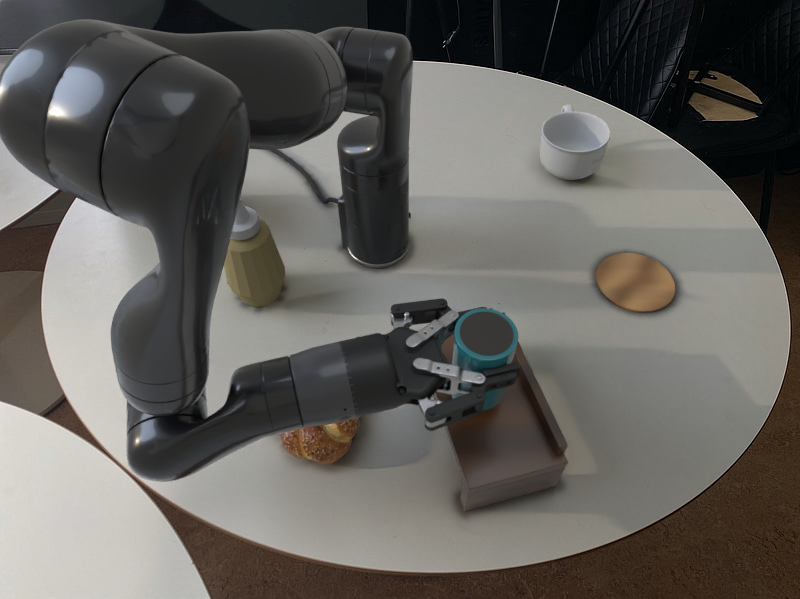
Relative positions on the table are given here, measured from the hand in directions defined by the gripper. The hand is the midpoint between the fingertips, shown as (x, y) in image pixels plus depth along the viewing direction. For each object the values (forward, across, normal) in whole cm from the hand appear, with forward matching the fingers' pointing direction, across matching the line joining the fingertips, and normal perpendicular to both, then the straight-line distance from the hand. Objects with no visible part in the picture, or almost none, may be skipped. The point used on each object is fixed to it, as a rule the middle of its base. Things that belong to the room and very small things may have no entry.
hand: (505, 342), depth 61 cm
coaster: (+28, +15, +16) cm, 36 cm away
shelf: (-1, 0, +16) cm, 16 cm away
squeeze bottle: (-24, +28, +17) cm, 40 cm away
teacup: (+30, +42, +16) cm, 55 cm away
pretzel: (-20, +5, +17) cm, 27 cm away
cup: (-2, 0, +8) cm, 8 cm away
